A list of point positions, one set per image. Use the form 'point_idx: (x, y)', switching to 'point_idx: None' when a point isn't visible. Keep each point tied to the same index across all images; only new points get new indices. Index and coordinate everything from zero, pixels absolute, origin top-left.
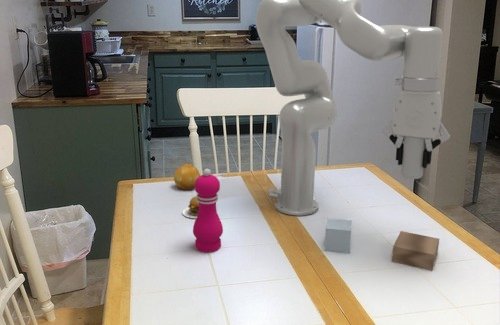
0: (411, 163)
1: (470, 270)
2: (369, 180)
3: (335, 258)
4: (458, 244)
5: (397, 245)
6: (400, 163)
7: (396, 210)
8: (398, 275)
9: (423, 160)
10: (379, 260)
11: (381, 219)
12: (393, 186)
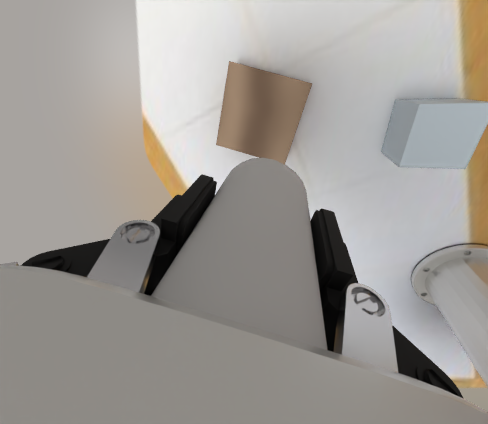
0: (269, 183)
1: (175, 86)
2: None
3: (439, 63)
4: (193, 178)
5: (302, 88)
6: (321, 211)
7: None
8: (305, 17)
9: (203, 196)
10: (334, 81)
11: None
12: None
